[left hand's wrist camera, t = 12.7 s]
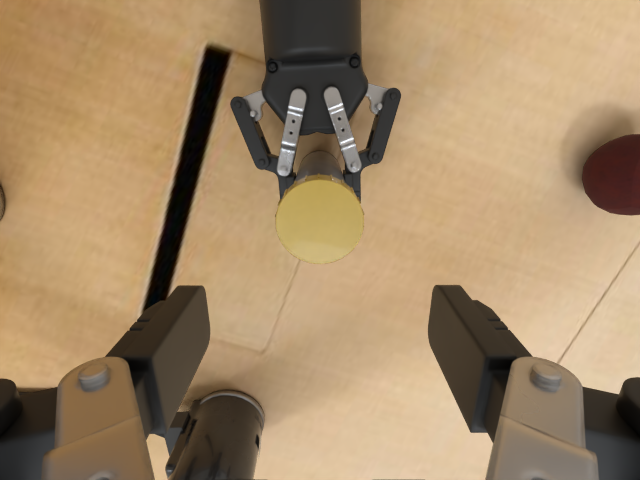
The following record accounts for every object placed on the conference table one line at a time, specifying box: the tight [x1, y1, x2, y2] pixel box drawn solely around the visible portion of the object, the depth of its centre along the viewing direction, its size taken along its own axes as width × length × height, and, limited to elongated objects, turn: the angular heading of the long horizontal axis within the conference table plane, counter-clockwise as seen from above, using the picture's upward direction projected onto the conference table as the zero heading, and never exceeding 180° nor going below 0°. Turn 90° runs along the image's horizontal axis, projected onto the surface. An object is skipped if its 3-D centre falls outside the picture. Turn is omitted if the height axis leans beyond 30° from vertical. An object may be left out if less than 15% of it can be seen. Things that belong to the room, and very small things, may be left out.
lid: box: [275, 173, 364, 264], centre depth 21 cm, size 5×5×2 cm
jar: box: [295, 151, 345, 183], centre depth 29 cm, size 4×4×18 cm
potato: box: [582, 134, 640, 215], centre depth 33 cm, size 7×8×7 cm
